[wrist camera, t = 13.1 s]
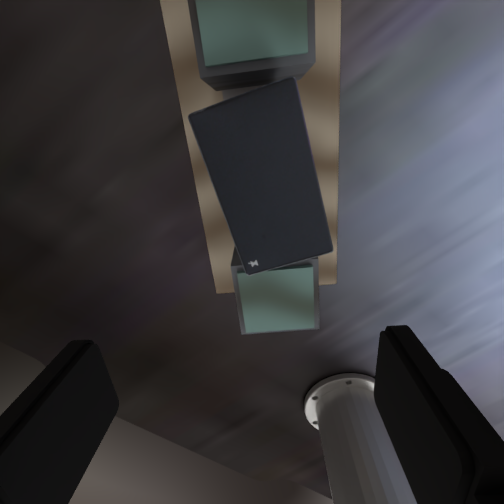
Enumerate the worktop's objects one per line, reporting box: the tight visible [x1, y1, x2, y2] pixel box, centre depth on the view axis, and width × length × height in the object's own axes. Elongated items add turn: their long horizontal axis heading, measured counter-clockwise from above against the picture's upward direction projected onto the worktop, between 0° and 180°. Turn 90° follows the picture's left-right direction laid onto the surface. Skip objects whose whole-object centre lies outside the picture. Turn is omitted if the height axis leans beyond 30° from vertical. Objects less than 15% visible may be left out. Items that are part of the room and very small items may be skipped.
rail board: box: [160, 0, 341, 335], centre depth 23 cm, size 28×14×10 cm, turn 6°
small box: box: [188, 76, 333, 276], centre depth 21 cm, size 11×6×10 cm, turn 18°
